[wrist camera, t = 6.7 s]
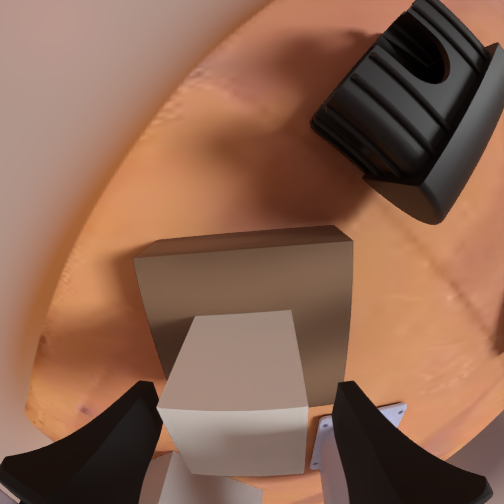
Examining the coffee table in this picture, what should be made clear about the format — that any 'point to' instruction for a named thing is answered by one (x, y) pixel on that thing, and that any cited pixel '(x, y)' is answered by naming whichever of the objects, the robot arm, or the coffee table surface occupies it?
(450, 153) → the end cap
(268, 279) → the walnut base
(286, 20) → the coffee table surface
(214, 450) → the white block
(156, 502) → the three tier block tower
